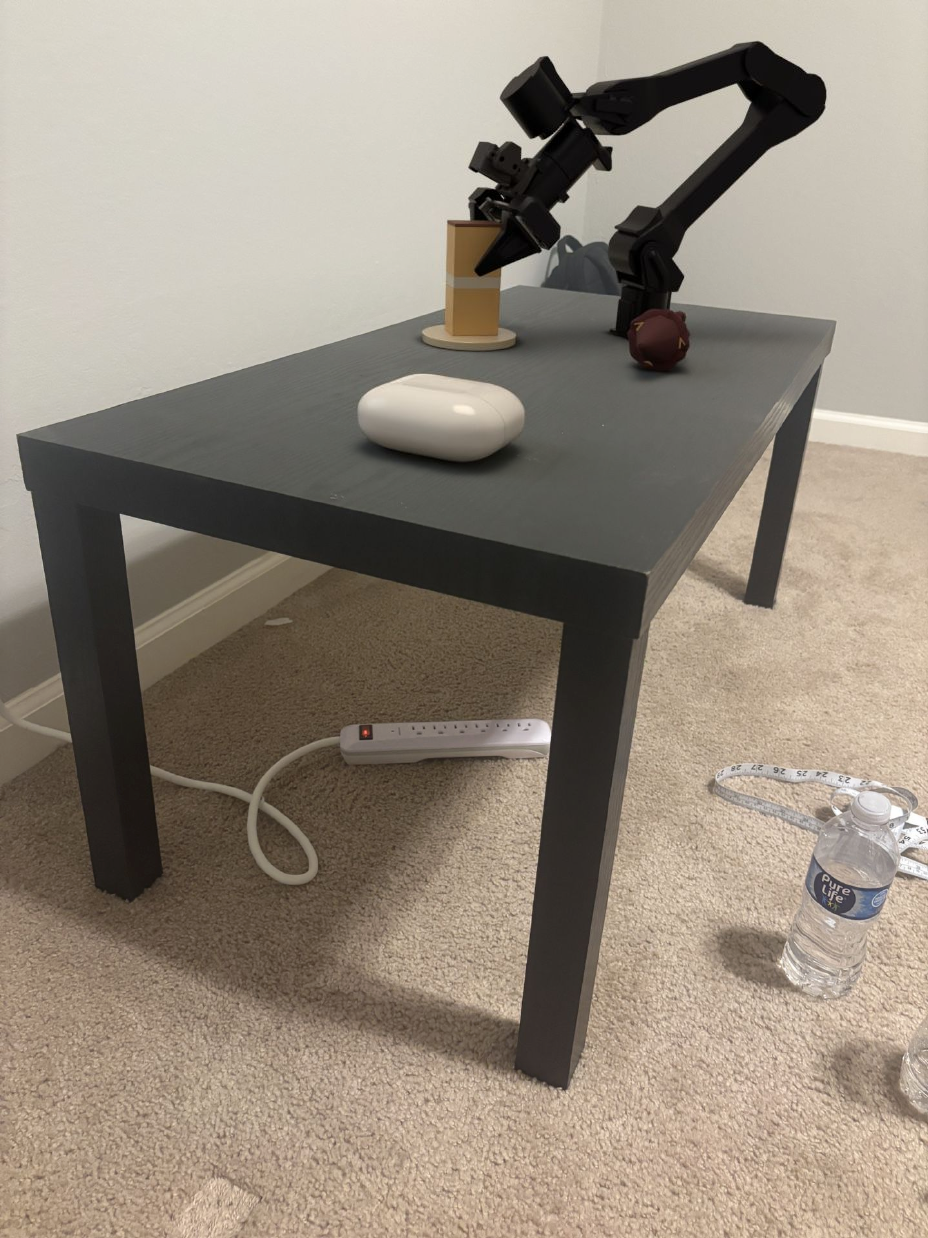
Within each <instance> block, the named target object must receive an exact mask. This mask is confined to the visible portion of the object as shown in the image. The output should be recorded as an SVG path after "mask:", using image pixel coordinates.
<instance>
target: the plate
mask: <svg viewBox="0 0 928 1238" xmlns="http://www.w3.org/2000/svg"><path fill="white" fill-rule="evenodd" d="M421 340H422V342H423V343H425V344H427V345H429V346H432V347H436V348H440V349H447V350H452V351H453V350H454V351H468V352H469V351H472V352H475V351H476V352H478V351H479V352H480V351H481V352H483V351H497V350H503V349H509V348H510V347H513V346H515V344H516V343H517V342H516V341H517V334H516V333H515V332H514V331H512V330H509V329H507V328H503V327H498V335H478V336H452V335H451V334H450V333H449V332H448V331H447V330H446V329H445V324H439V325H438V324H437V325H433V326H429V327H426V328H424V329H423V330H422V332H421Z"/></svg>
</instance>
